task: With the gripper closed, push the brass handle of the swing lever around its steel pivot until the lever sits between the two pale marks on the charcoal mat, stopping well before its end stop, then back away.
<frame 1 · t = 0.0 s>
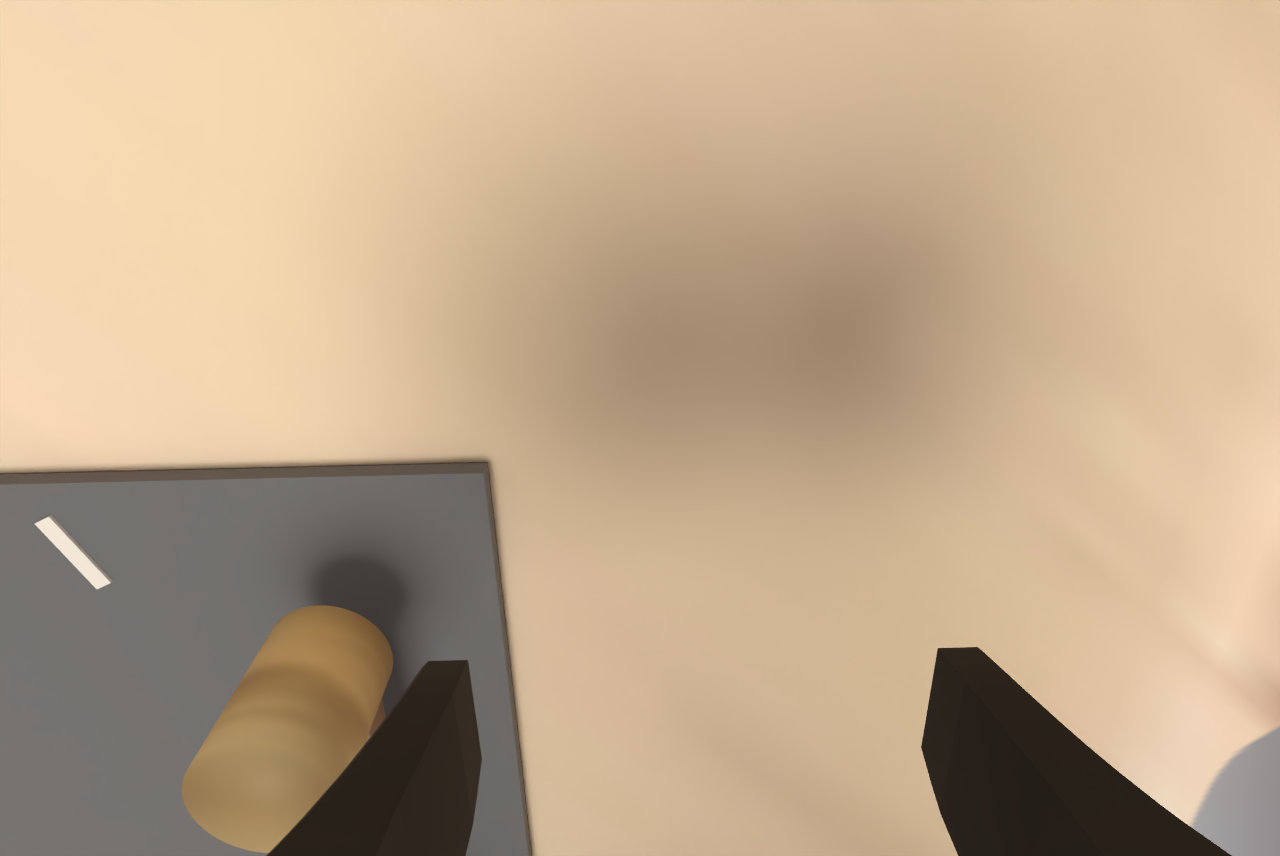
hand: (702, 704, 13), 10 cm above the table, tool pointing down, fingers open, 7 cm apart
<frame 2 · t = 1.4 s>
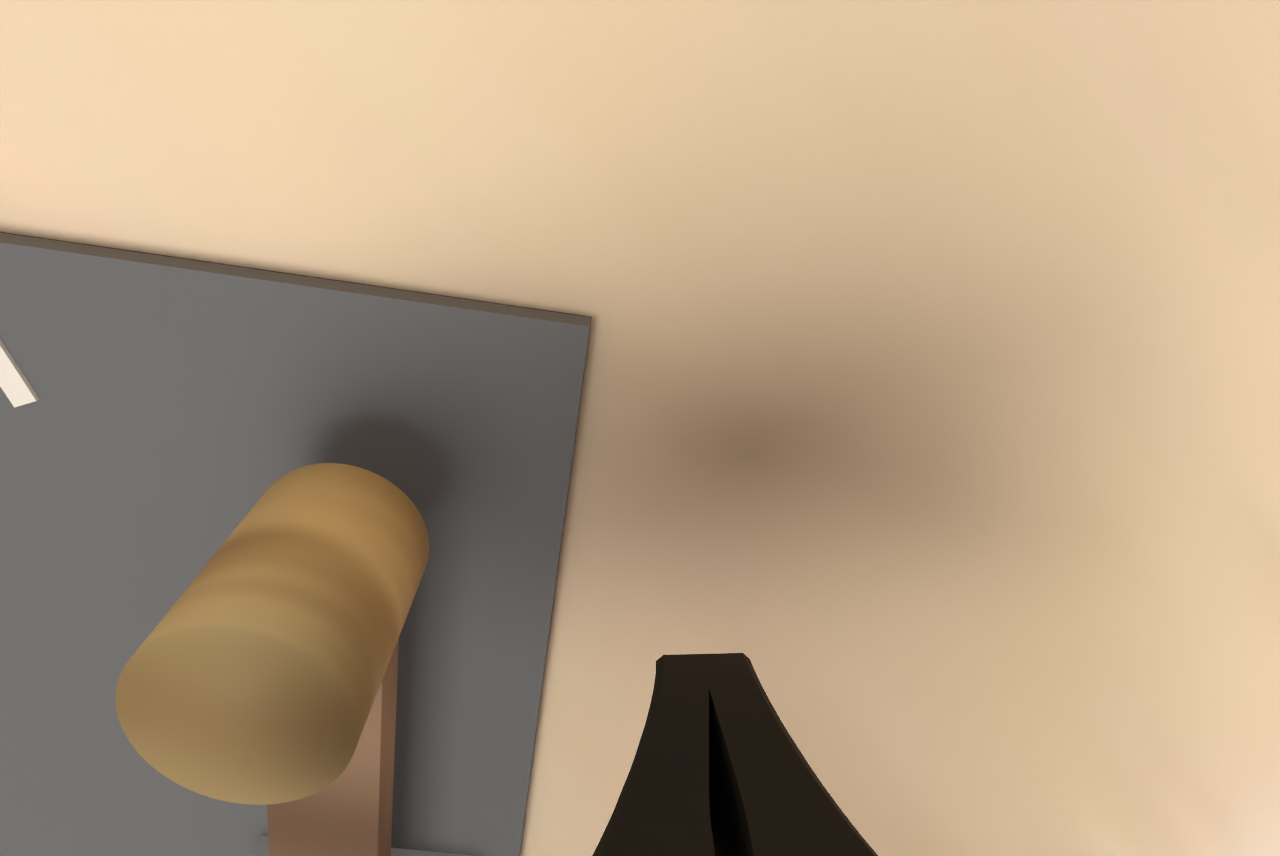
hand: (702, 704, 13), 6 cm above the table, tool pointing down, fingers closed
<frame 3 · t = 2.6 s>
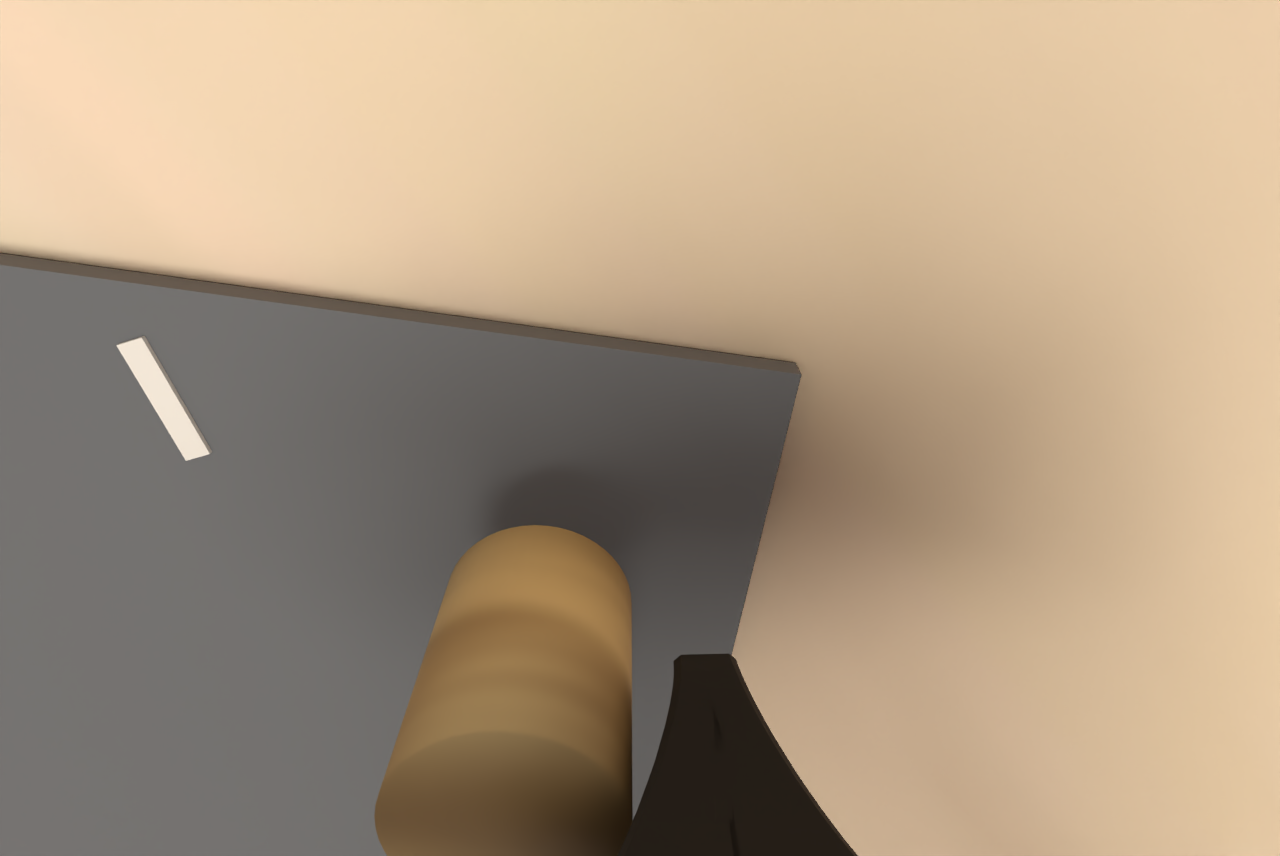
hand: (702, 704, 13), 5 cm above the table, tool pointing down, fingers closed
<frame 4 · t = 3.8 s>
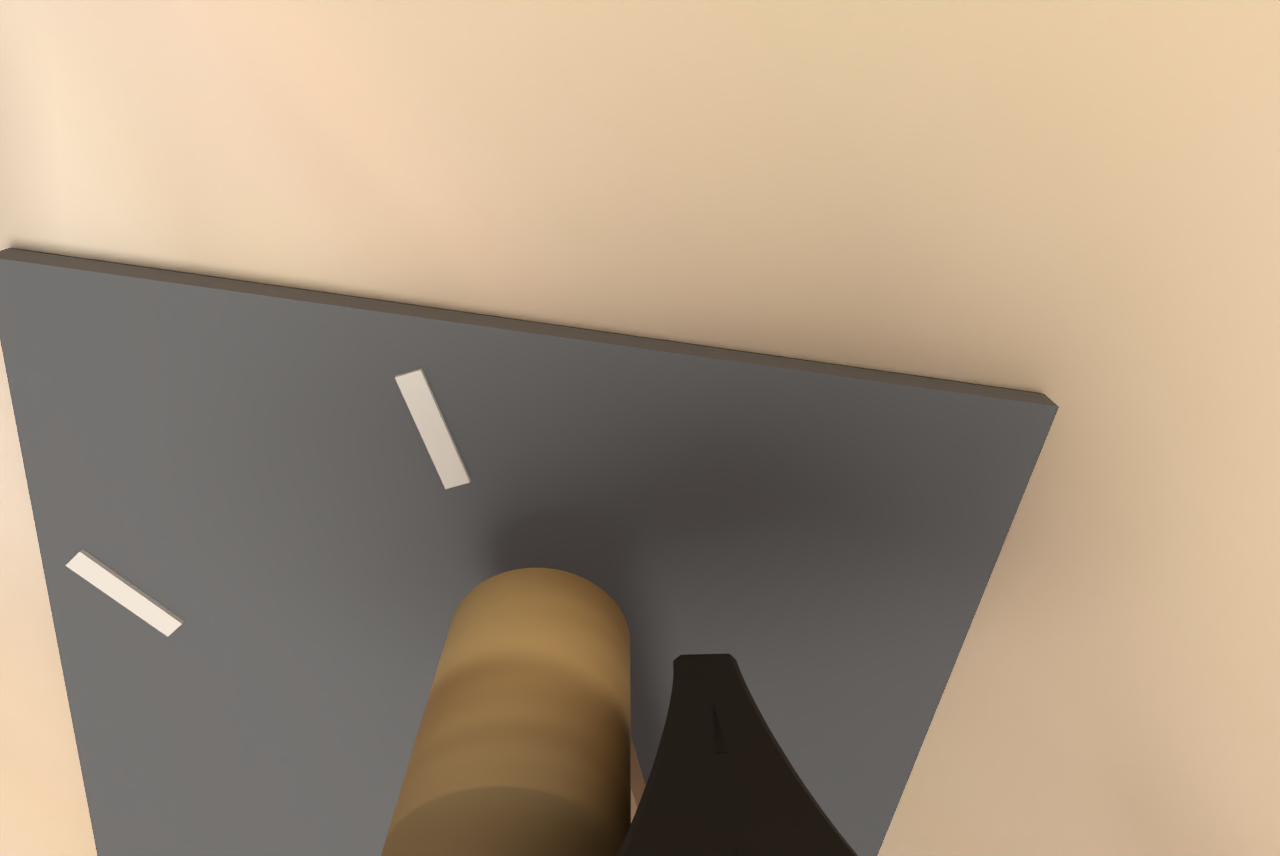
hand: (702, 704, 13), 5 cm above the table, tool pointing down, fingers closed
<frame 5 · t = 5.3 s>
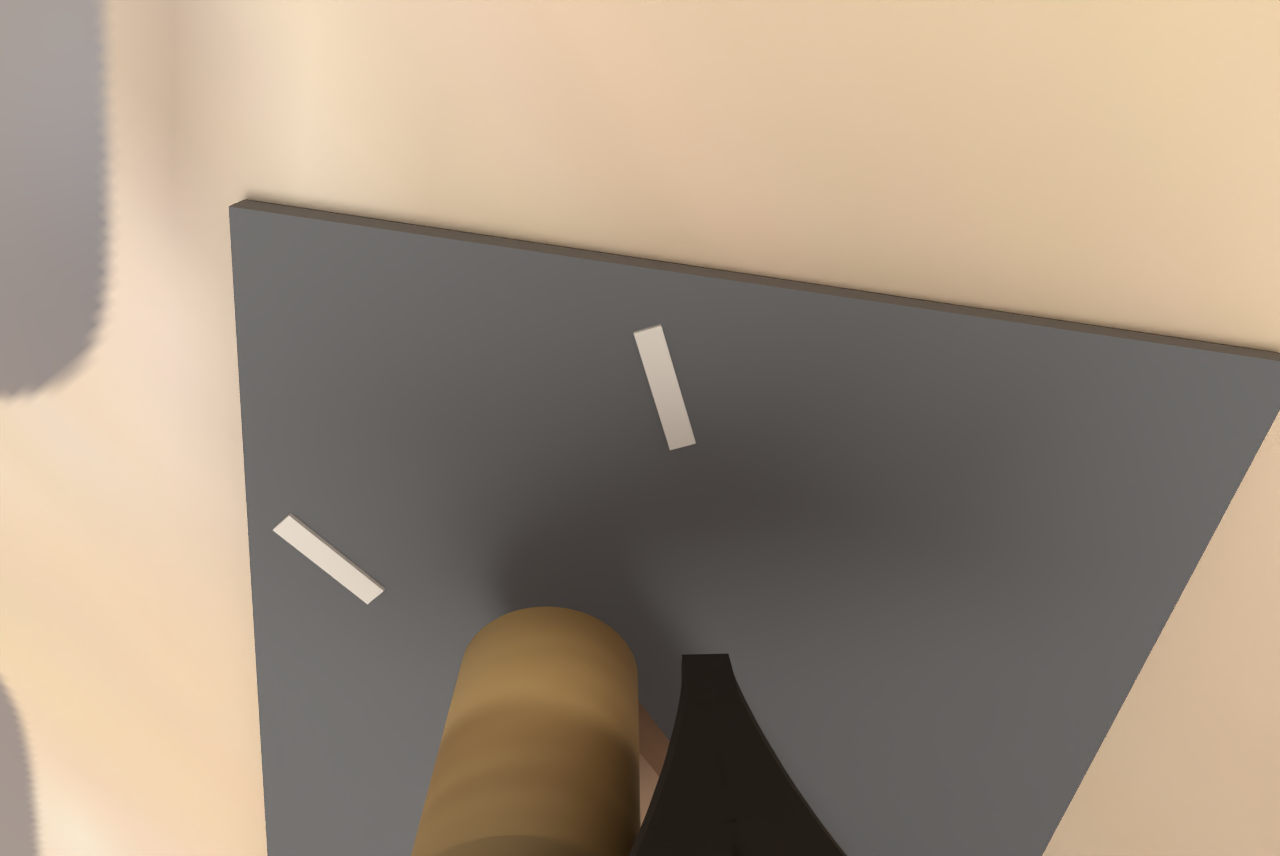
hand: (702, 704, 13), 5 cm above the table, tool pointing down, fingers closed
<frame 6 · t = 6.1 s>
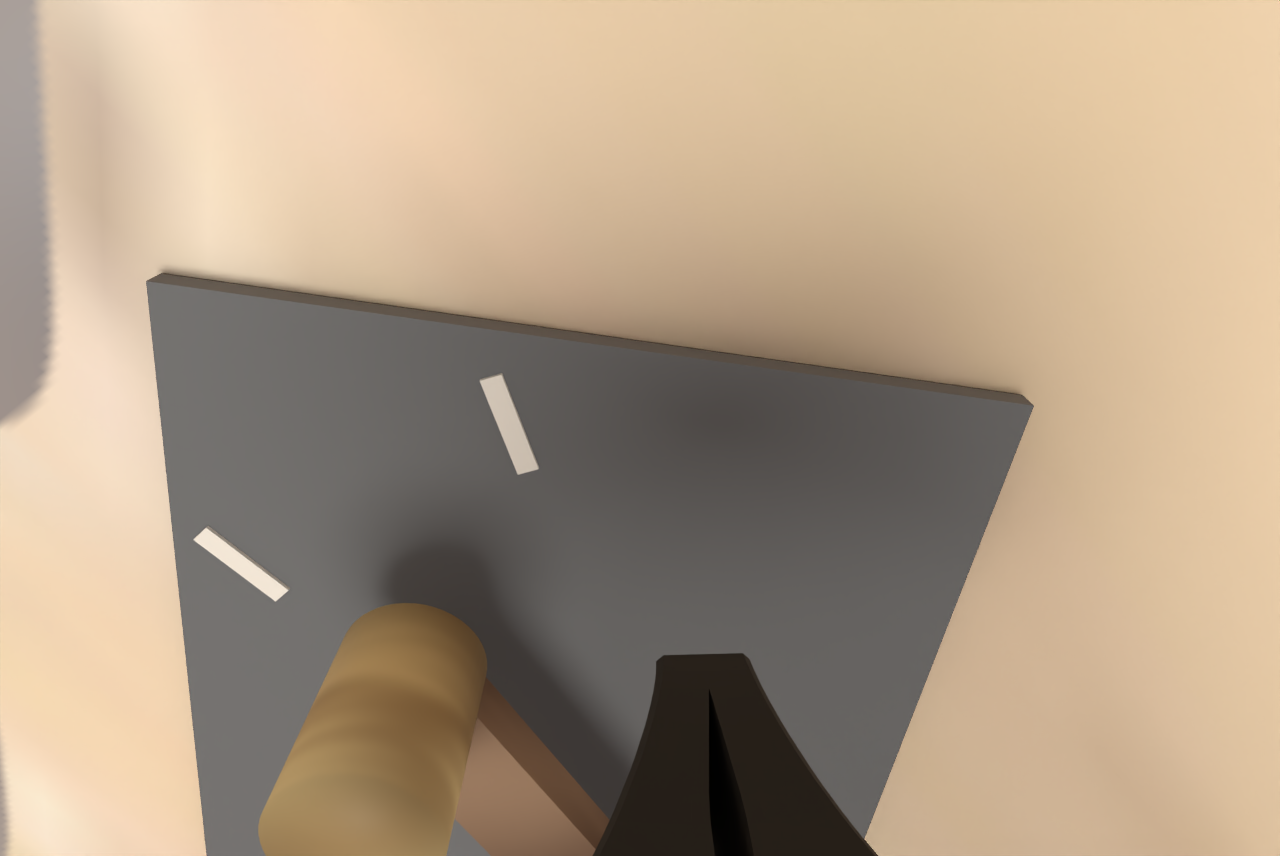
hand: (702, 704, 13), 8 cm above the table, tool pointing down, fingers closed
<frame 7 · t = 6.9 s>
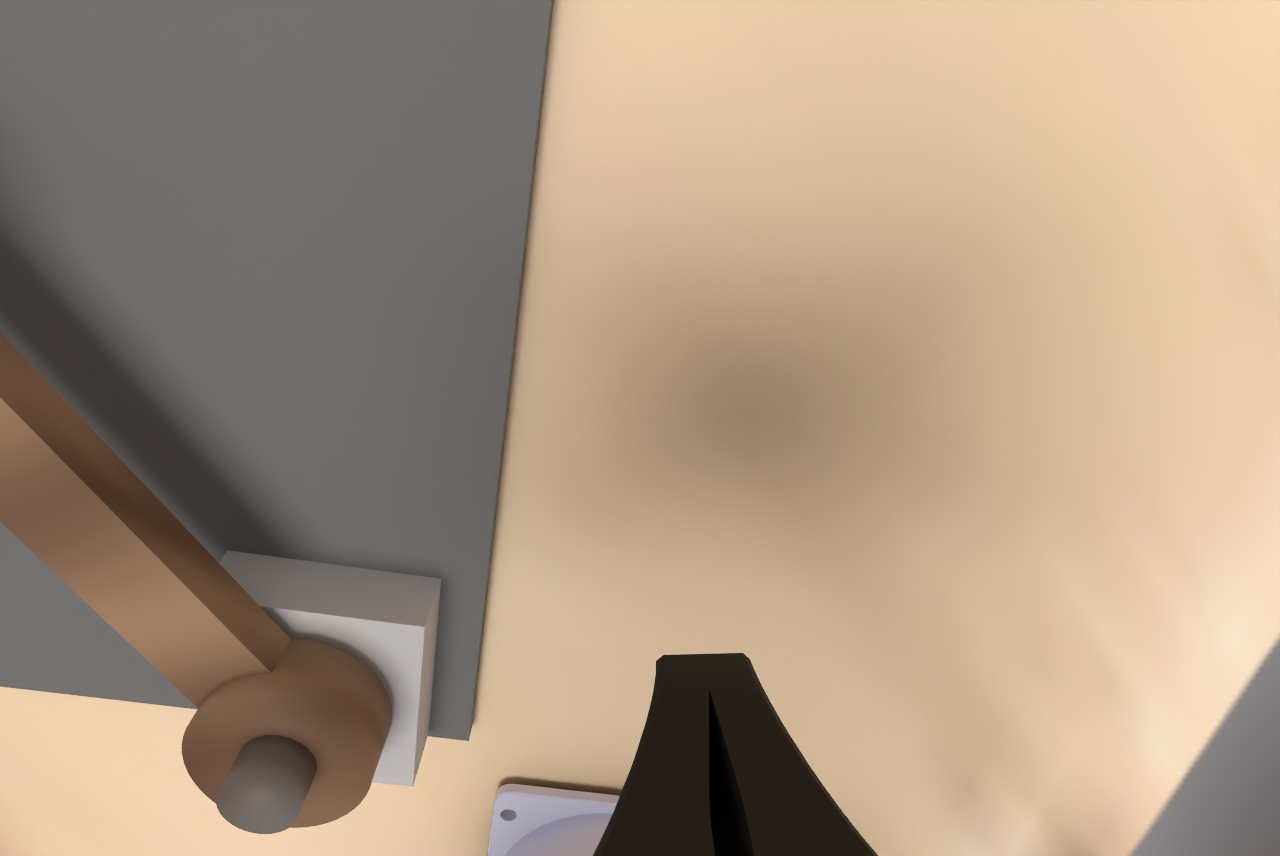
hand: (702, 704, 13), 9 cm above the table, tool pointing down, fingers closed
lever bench: (341, 632, 24), on the table
lever: (49, 570, 17), point 5 cm above the table, hinge at 38.9°
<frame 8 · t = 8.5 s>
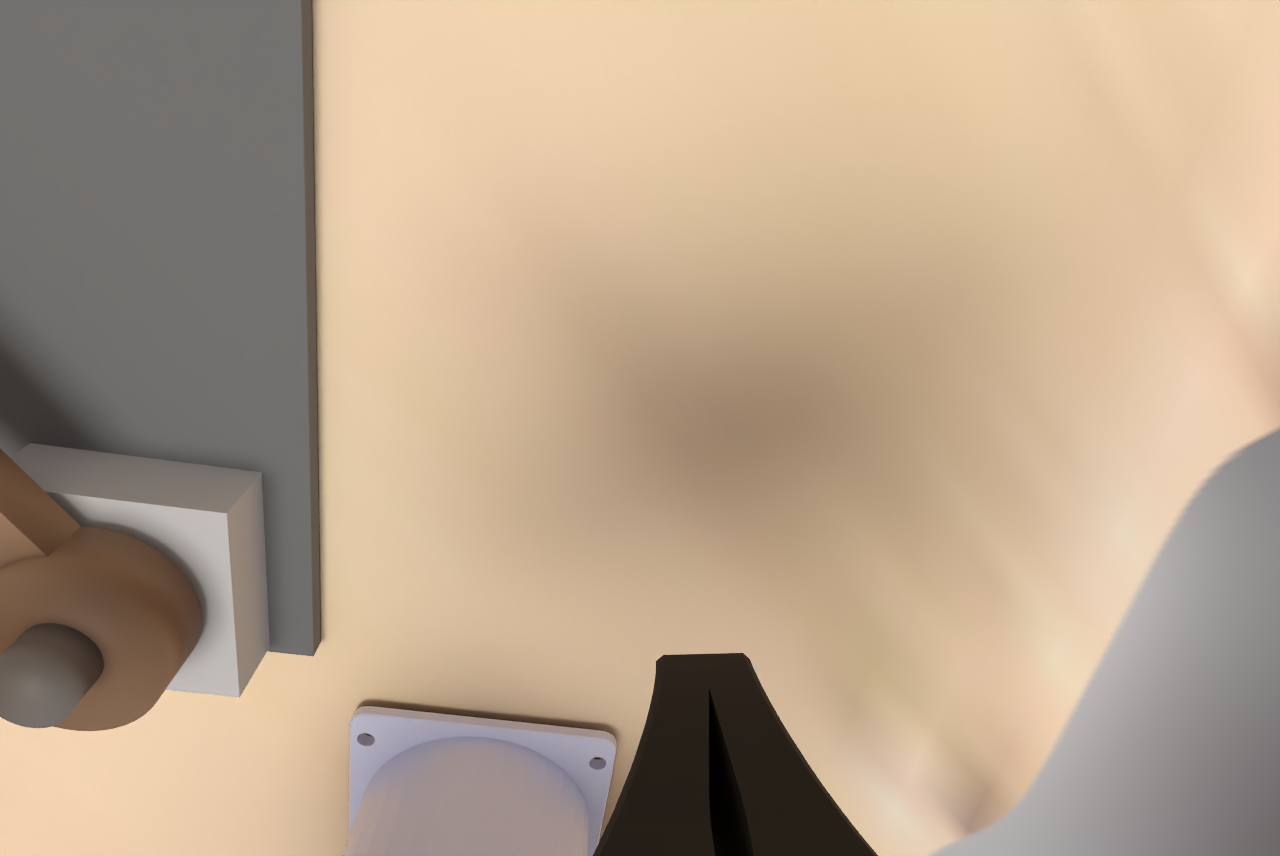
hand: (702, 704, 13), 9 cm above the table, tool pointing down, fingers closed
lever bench: (169, 538, 22), on the table
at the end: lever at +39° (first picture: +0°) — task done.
